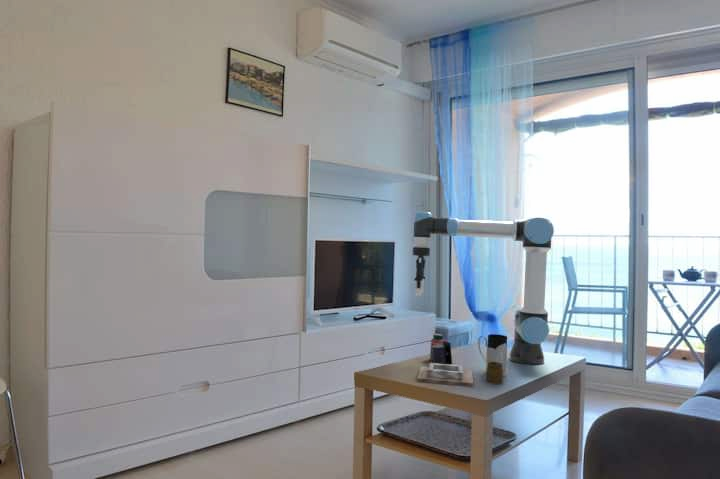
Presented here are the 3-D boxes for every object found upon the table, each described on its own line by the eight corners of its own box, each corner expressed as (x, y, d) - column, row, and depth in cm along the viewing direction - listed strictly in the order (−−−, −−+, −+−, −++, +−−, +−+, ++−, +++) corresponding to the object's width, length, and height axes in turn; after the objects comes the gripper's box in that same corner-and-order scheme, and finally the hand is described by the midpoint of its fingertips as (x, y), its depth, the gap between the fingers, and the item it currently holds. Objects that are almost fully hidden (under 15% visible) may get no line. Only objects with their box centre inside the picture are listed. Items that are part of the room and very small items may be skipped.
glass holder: (497, 376, 210) (499, 338, 210) (469, 368, 221) (471, 332, 222) (511, 374, 215) (513, 337, 215) (484, 367, 226) (486, 331, 227)
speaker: (449, 363, 228) (448, 339, 228) (452, 367, 222) (451, 342, 222) (431, 364, 228) (430, 340, 228) (434, 368, 222) (433, 343, 222)
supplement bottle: (427, 360, 235) (428, 334, 235) (433, 358, 240) (434, 332, 240) (440, 362, 231) (441, 336, 232) (445, 360, 236) (447, 334, 237)
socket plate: (471, 373, 213) (471, 364, 213) (473, 386, 193) (473, 376, 193) (420, 369, 216) (420, 360, 216) (417, 381, 196) (417, 371, 196)
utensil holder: (504, 384, 198) (505, 351, 198) (487, 383, 198) (488, 350, 199) (500, 380, 204) (501, 348, 204) (483, 379, 204) (485, 347, 204)
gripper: (414, 246, 252) (412, 291, 252) (411, 246, 228) (408, 296, 227) (430, 247, 251) (428, 292, 251) (428, 247, 226) (426, 297, 226)
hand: (419, 294), depth 239 cm, fingers open, 13 cm apart
